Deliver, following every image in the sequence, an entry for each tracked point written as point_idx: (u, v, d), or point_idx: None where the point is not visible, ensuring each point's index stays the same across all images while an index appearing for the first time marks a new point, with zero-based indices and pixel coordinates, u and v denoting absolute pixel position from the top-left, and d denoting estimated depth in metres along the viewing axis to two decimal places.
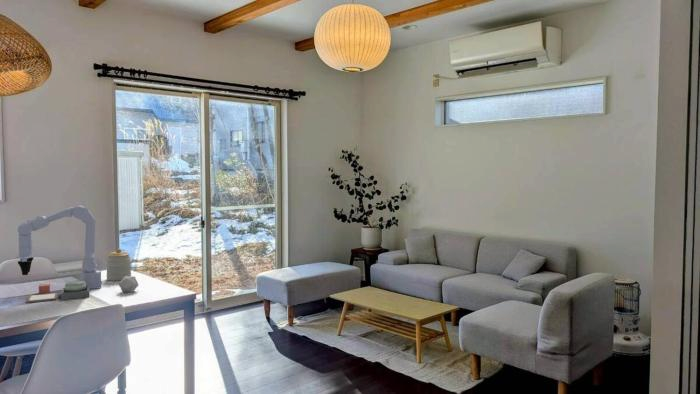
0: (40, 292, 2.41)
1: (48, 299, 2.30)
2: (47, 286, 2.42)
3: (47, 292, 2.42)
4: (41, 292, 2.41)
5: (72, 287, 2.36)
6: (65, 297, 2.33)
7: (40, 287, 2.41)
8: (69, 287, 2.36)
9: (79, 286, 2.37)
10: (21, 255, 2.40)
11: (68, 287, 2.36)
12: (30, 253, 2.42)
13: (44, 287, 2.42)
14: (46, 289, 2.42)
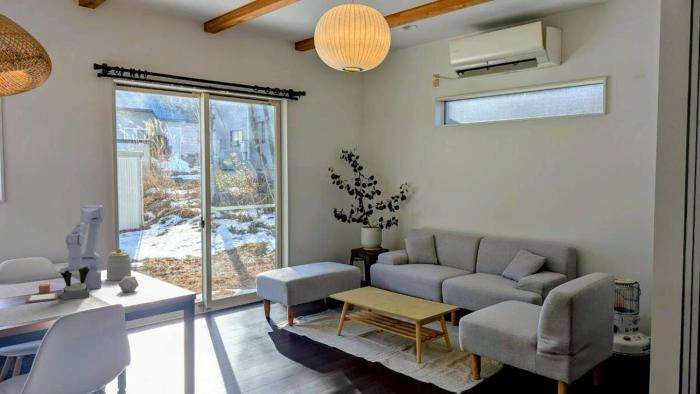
0: (40, 292, 2.41)
1: (48, 299, 2.30)
2: (47, 286, 2.42)
3: (47, 292, 2.42)
4: (41, 292, 2.41)
5: (72, 289, 2.36)
6: (65, 297, 2.33)
7: (40, 287, 2.41)
8: (69, 289, 2.36)
9: (79, 288, 2.38)
10: None
11: (68, 289, 2.36)
12: (74, 265, 2.37)
13: (44, 287, 2.42)
14: (46, 289, 2.42)
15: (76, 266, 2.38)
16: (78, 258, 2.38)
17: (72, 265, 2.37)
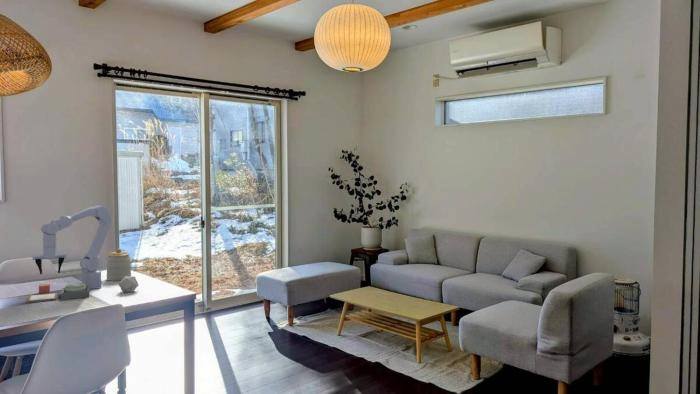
0: (40, 292, 2.41)
1: (48, 299, 2.30)
2: (47, 286, 2.42)
3: (47, 292, 2.42)
4: (41, 292, 2.41)
5: (72, 289, 2.36)
6: (65, 297, 2.33)
7: (40, 287, 2.41)
8: (69, 289, 2.36)
9: (79, 288, 2.38)
10: None
11: (68, 289, 2.36)
12: (45, 253, 2.39)
13: (44, 287, 2.42)
14: (46, 289, 2.42)
15: (46, 255, 2.39)
16: (48, 247, 2.39)
17: (43, 254, 2.40)
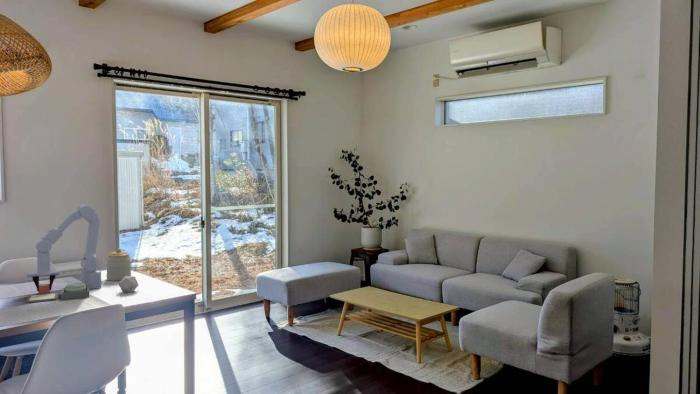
0: (40, 292, 2.41)
1: (48, 299, 2.30)
2: (47, 286, 2.42)
3: (47, 292, 2.42)
4: (41, 292, 2.41)
5: (72, 289, 2.36)
6: (65, 297, 2.33)
7: (40, 287, 2.41)
8: (69, 289, 2.36)
9: (79, 288, 2.38)
10: None
11: (68, 289, 2.36)
12: (39, 271, 2.40)
13: (44, 287, 2.42)
14: (46, 289, 2.42)
15: (40, 273, 2.40)
16: (42, 265, 2.40)
17: (38, 271, 2.41)
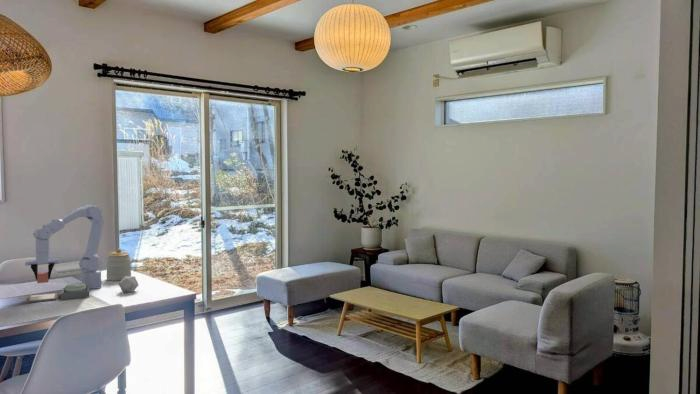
0: (38, 280, 2.36)
1: (48, 299, 2.30)
2: (46, 274, 2.37)
3: (46, 280, 2.37)
4: (39, 280, 2.36)
5: (72, 289, 2.36)
6: (65, 297, 2.33)
7: (38, 275, 2.36)
8: (69, 289, 2.36)
9: (79, 288, 2.38)
10: None
11: (68, 289, 2.36)
12: (38, 259, 2.35)
13: (43, 275, 2.37)
14: (45, 277, 2.37)
15: (39, 260, 2.35)
16: (41, 253, 2.35)
17: (36, 259, 2.36)
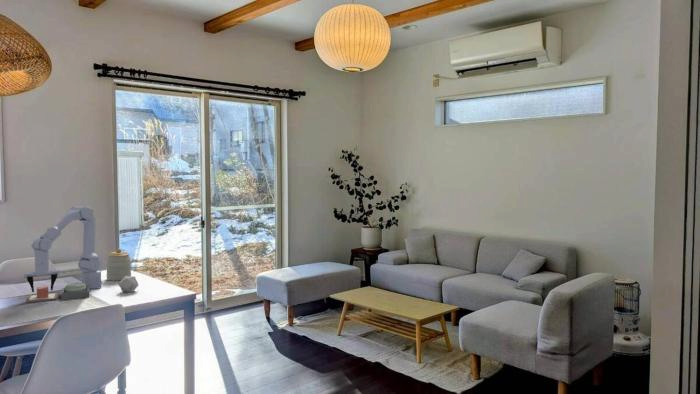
0: (39, 295, 2.31)
1: (48, 299, 2.30)
2: (46, 289, 2.33)
3: (46, 295, 2.33)
4: (40, 295, 2.32)
5: (72, 289, 2.36)
6: (65, 297, 2.33)
7: (39, 290, 2.31)
8: (69, 289, 2.36)
9: (79, 288, 2.38)
10: None
11: (68, 289, 2.36)
12: (37, 271, 2.30)
13: (43, 290, 2.32)
14: (45, 292, 2.33)
15: (39, 272, 2.30)
16: (41, 264, 2.31)
17: (36, 271, 2.31)
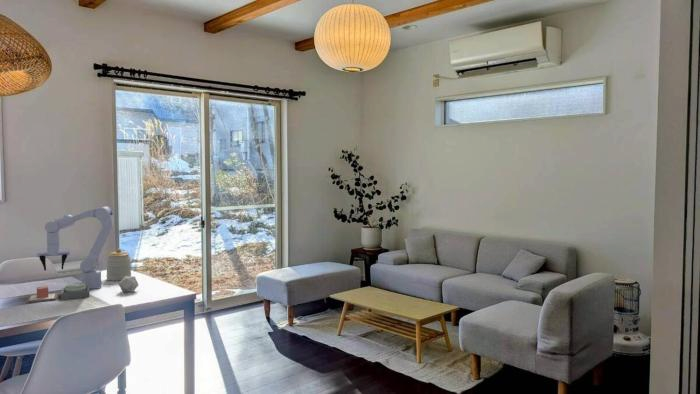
0: (39, 295, 2.31)
1: (48, 299, 2.30)
2: (46, 289, 2.33)
3: (46, 295, 2.33)
4: (40, 295, 2.32)
5: (72, 289, 2.36)
6: (65, 297, 2.33)
7: (39, 290, 2.31)
8: (69, 289, 2.36)
9: (79, 288, 2.38)
10: None
11: (68, 289, 2.36)
12: (49, 250, 2.49)
13: (43, 290, 2.32)
14: (45, 292, 2.33)
15: (50, 252, 2.49)
16: (52, 244, 2.49)
17: (47, 251, 2.49)
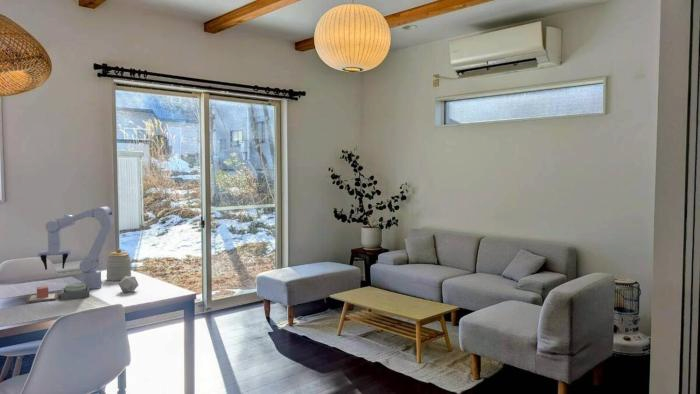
0: (39, 295, 2.31)
1: (48, 299, 2.30)
2: (46, 289, 2.33)
3: (46, 295, 2.33)
4: (40, 295, 2.32)
5: (72, 289, 2.36)
6: (65, 297, 2.33)
7: (39, 290, 2.31)
8: (69, 289, 2.36)
9: (79, 288, 2.38)
10: None
11: (68, 289, 2.36)
12: (50, 250, 2.51)
13: (43, 290, 2.32)
14: (45, 292, 2.33)
15: (51, 251, 2.50)
16: (53, 244, 2.51)
17: (48, 250, 2.51)
